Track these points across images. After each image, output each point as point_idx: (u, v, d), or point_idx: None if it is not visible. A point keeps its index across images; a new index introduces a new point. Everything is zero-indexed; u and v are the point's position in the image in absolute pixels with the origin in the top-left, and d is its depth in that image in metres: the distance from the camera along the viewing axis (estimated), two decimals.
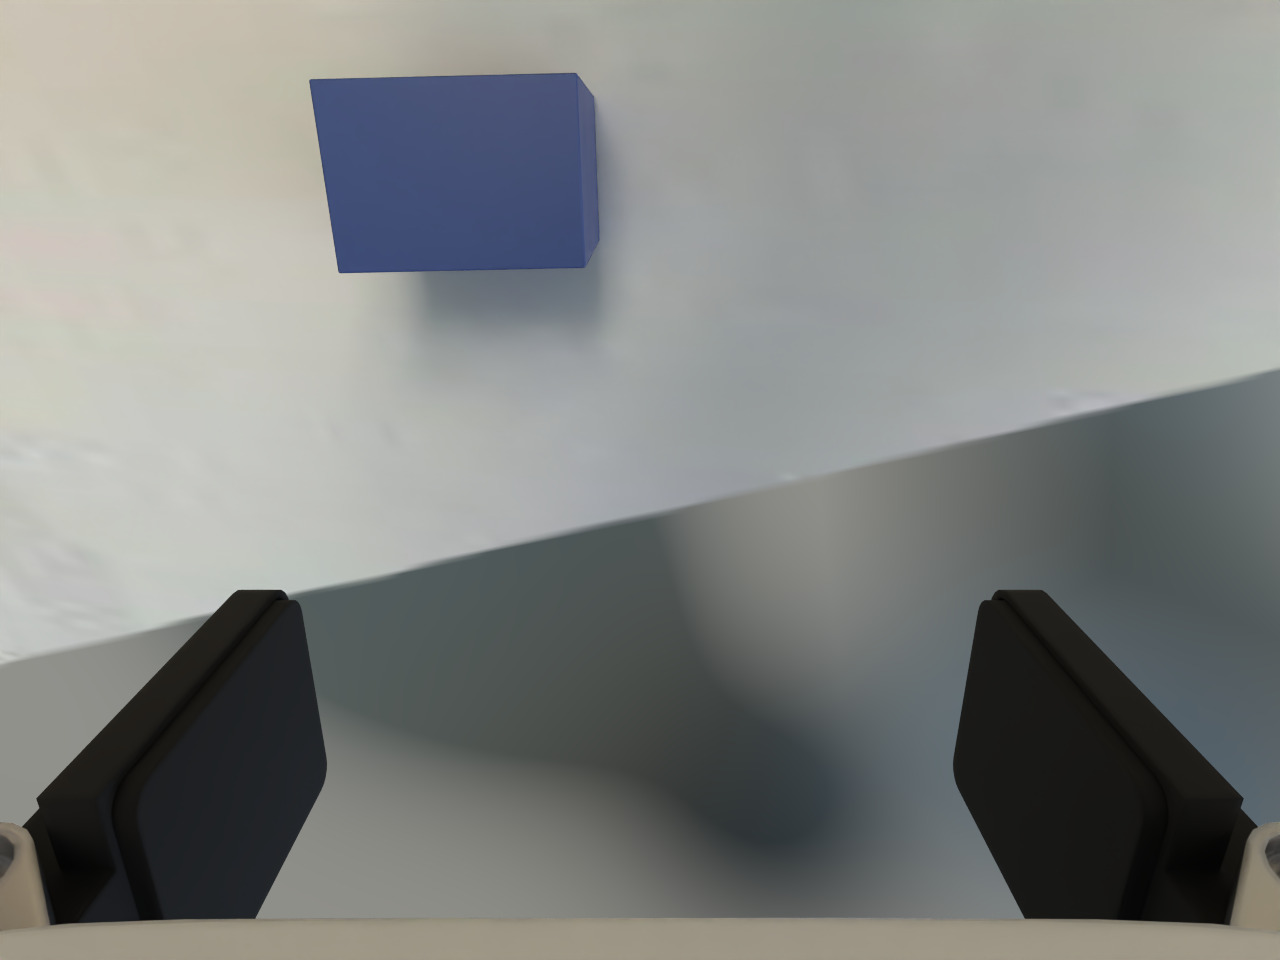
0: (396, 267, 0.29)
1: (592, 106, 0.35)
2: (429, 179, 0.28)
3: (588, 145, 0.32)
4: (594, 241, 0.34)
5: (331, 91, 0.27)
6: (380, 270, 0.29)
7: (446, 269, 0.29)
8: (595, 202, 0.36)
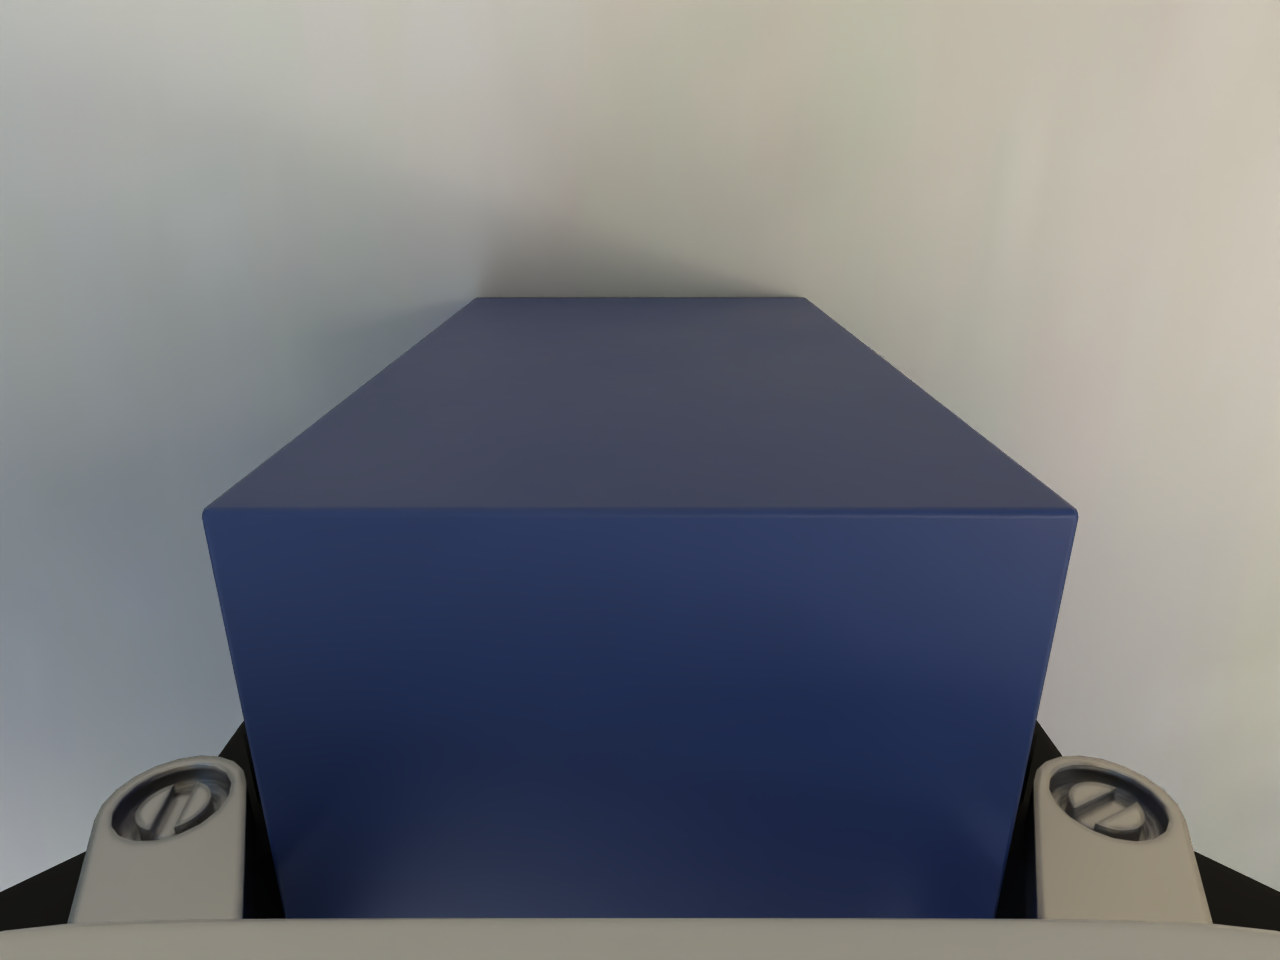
0: (266, 757, 0.06)
1: None
2: (632, 898, 0.07)
3: None
4: None
5: (1012, 597, 0.06)
6: (244, 688, 0.06)
7: (288, 917, 0.07)
8: None
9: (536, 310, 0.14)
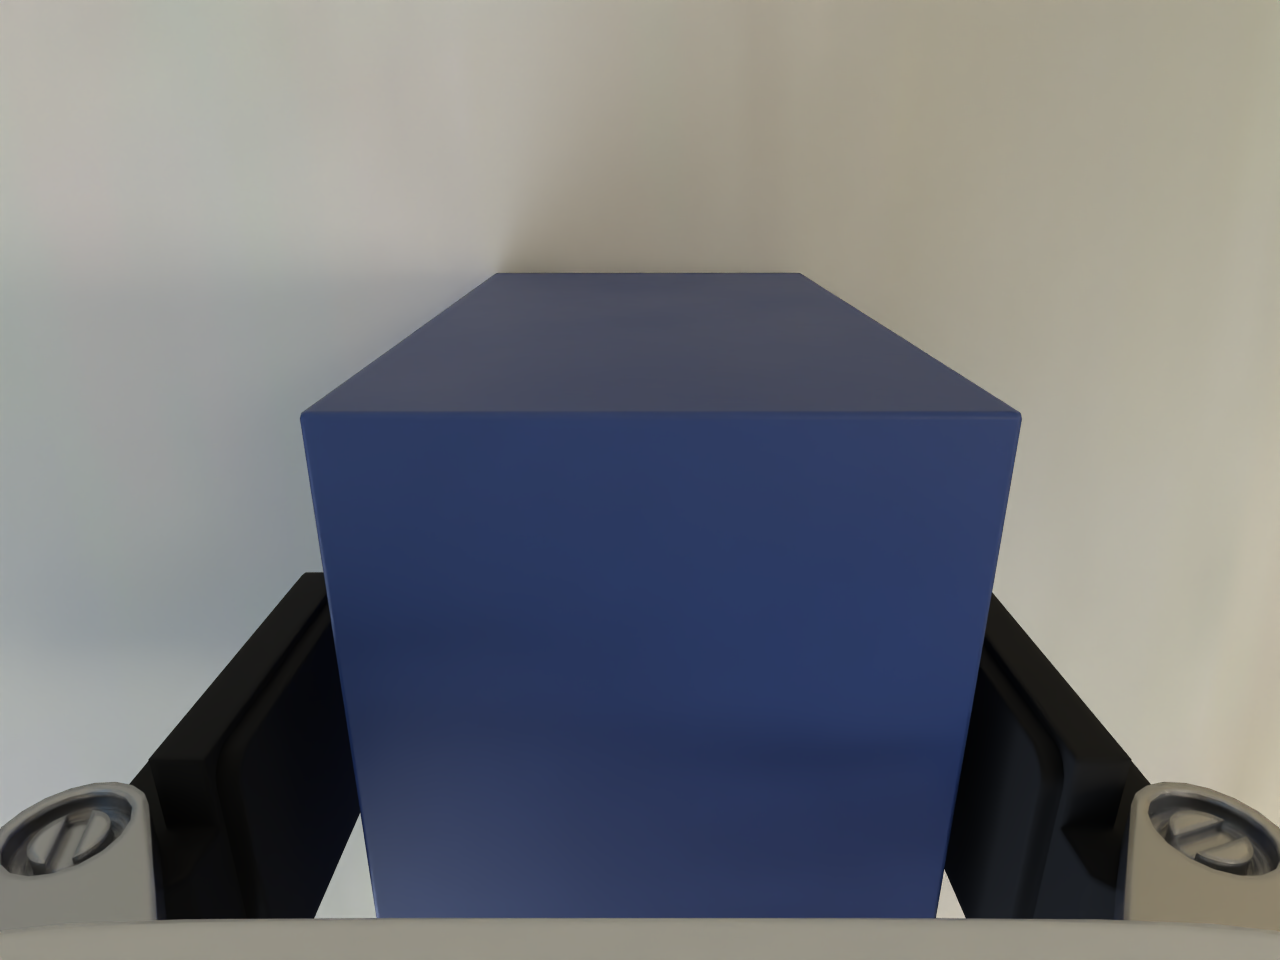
0: (345, 630, 0.08)
1: None
2: (651, 758, 0.08)
3: None
4: None
5: (969, 488, 0.07)
6: (329, 569, 0.07)
7: (358, 777, 0.08)
8: None
9: (553, 282, 0.15)
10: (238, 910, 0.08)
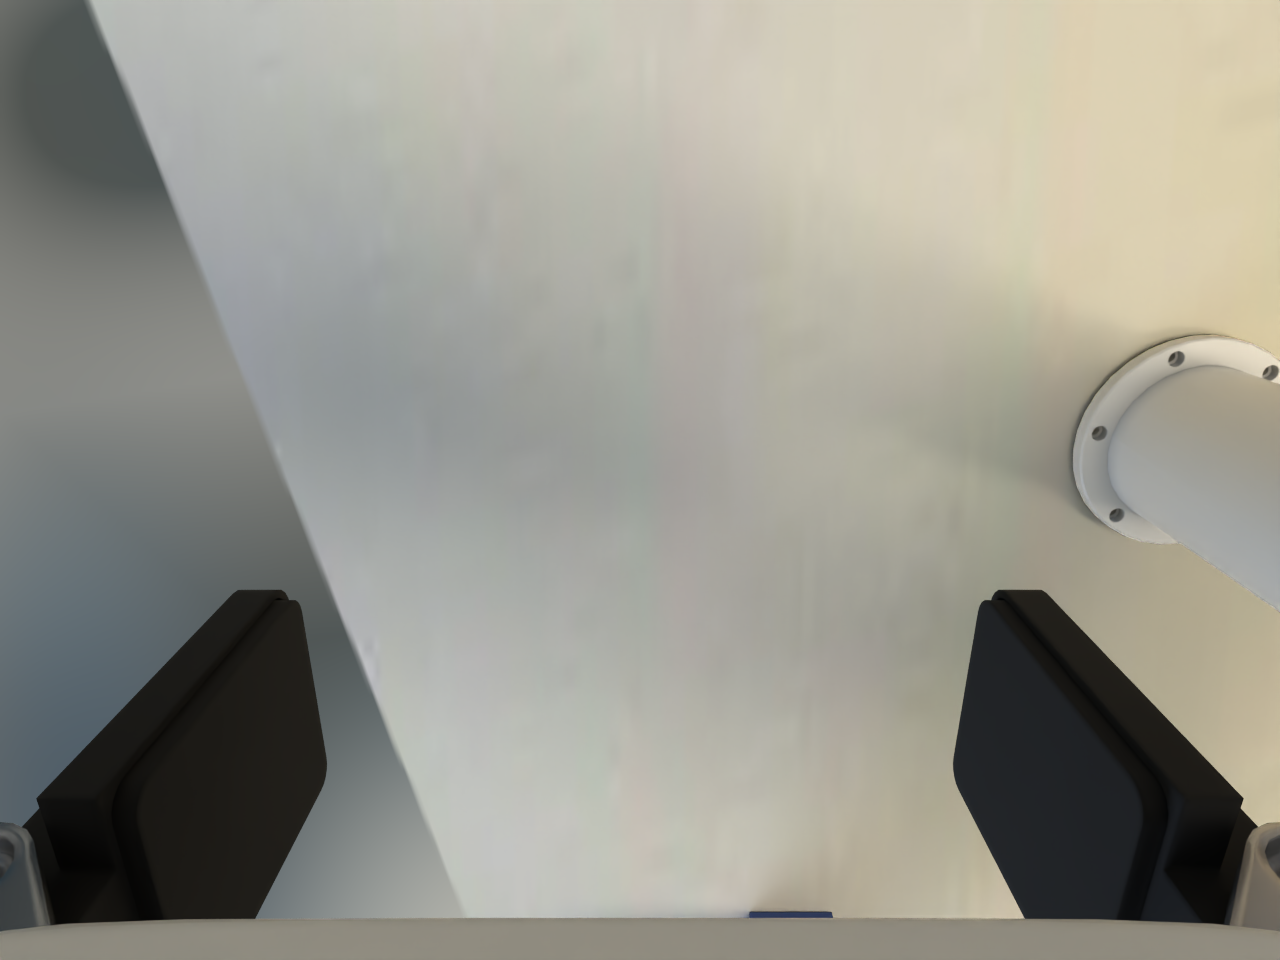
0: None
1: None
2: None
3: None
4: None
5: None
6: None
7: None
8: None
9: None
10: None
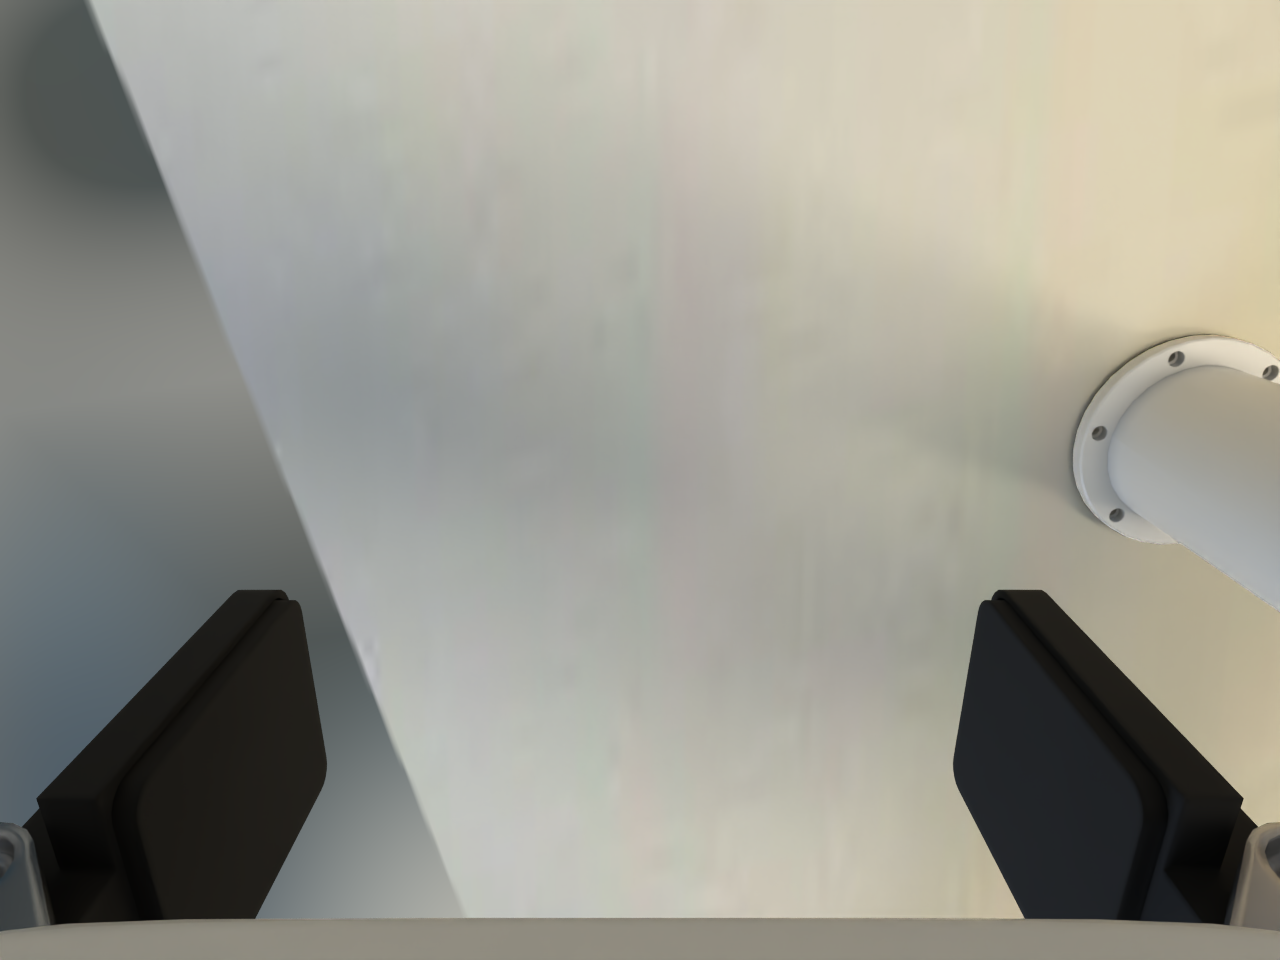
0: None
1: None
2: None
3: None
4: None
5: None
6: None
7: None
8: None
9: None
10: None
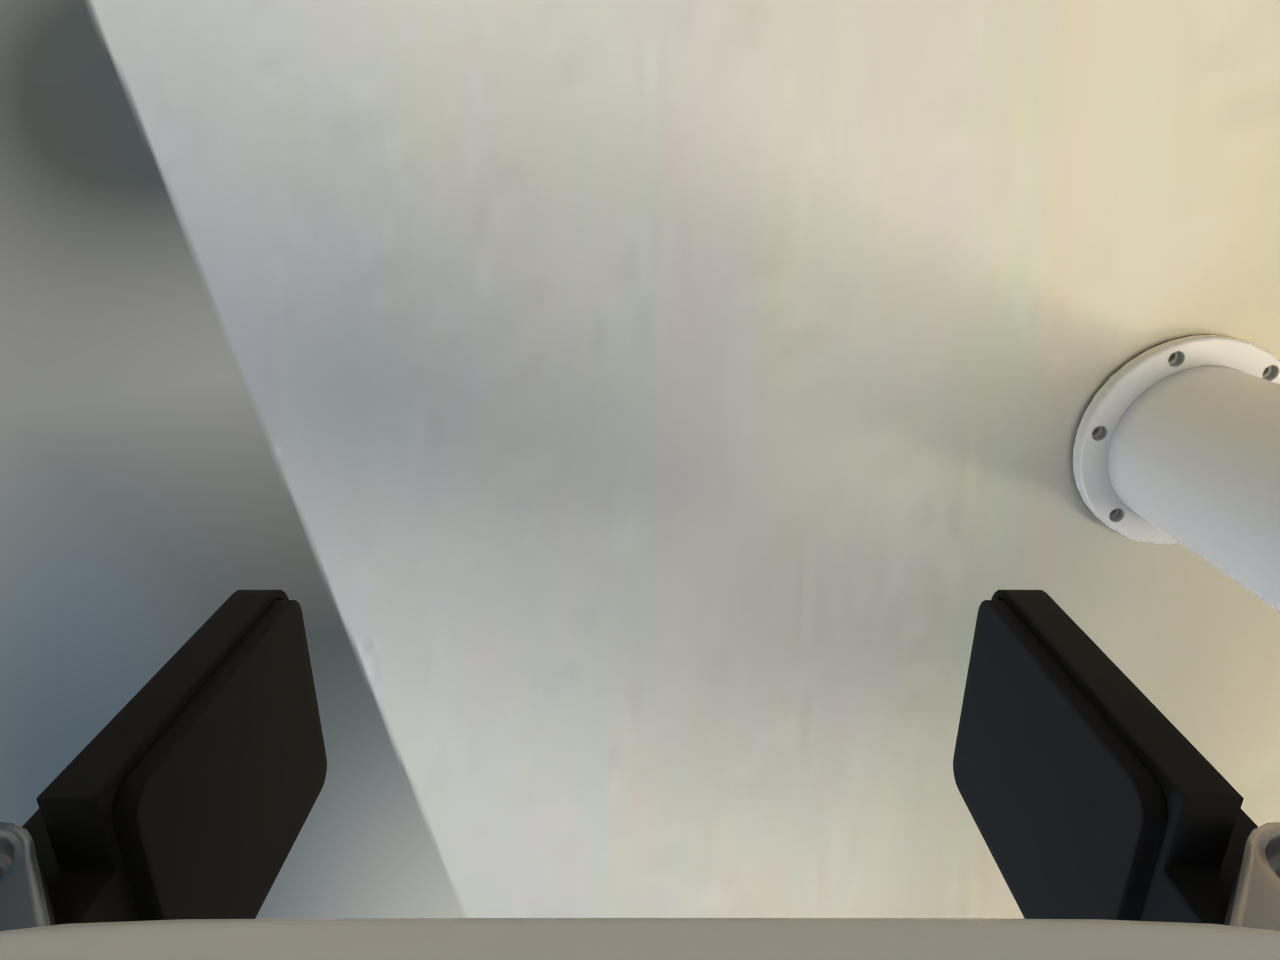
0: None
1: None
2: None
3: None
4: None
5: None
6: None
7: None
8: None
9: None
10: None
